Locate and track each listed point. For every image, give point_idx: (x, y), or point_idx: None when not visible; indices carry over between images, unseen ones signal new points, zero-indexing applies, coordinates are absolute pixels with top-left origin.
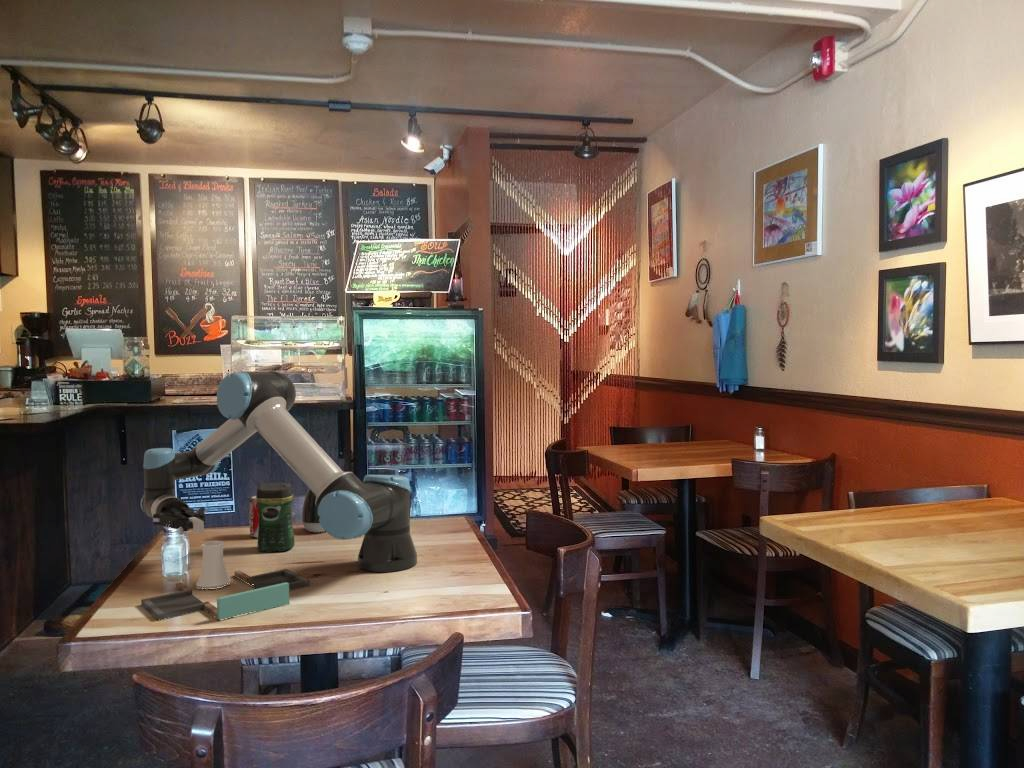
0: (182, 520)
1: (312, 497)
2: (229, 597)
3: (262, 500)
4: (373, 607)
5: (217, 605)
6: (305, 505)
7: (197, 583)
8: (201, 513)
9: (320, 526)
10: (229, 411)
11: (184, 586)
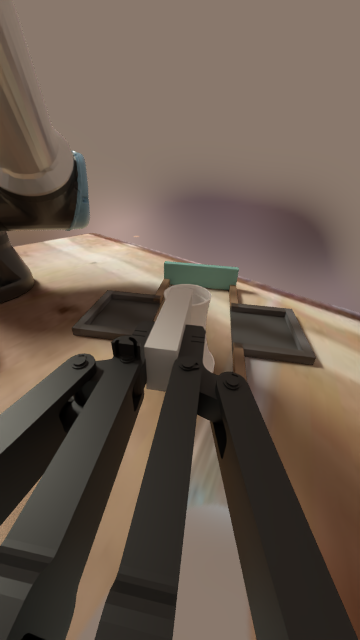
0: (202, 376)
1: None
2: (227, 267)
3: None
4: (131, 256)
5: (237, 276)
6: None
7: (211, 366)
8: (32, 407)
9: None
10: None
11: (238, 363)
